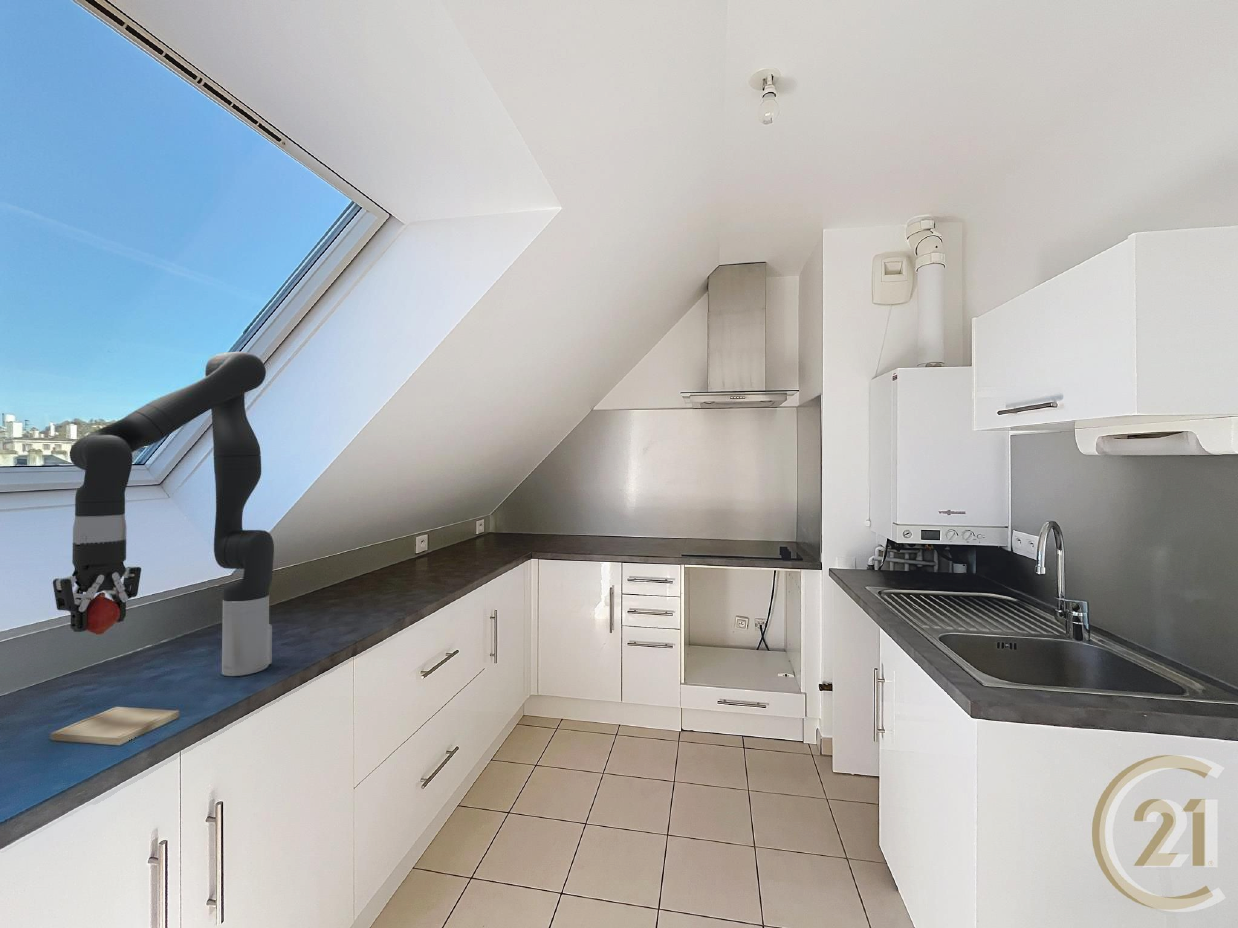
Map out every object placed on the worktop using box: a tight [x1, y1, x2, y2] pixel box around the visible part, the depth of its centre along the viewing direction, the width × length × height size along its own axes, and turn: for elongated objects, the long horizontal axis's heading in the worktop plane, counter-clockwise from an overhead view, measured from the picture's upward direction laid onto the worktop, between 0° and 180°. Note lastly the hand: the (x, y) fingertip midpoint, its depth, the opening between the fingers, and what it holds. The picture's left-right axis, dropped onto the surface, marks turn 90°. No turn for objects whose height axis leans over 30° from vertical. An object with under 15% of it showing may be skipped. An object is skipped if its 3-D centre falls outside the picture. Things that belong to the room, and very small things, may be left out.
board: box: [50, 706, 180, 746], centre depth 100 cm, size 11×14×1 cm
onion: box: [85, 591, 120, 635], centre depth 105 cm, size 6×6×8 cm
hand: (99, 626), depth 105 cm, fingers closed on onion, 6 cm apart
